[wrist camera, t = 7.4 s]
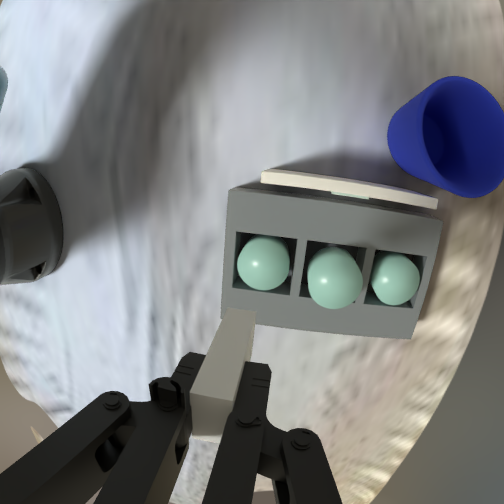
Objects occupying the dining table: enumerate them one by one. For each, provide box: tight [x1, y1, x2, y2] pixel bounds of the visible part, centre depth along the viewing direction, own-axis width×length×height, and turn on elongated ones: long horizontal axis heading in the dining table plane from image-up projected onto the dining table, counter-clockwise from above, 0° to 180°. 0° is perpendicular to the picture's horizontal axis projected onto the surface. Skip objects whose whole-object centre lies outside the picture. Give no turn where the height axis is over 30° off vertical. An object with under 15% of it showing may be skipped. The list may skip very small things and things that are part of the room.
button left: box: [237, 234, 290, 290], centre depth 27 cm, size 4×4×3 cm
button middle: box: [307, 247, 363, 309], centre depth 25 cm, size 4×4×3 cm
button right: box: [369, 250, 420, 305], centre depth 26 cm, size 4×4×3 cm
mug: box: [387, 76, 504, 198], centre depth 19 cm, size 8×12×10 cm
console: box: [221, 187, 443, 339], centre depth 27 cm, size 19×12×3 cm, turn 85°
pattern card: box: [261, 169, 438, 210], centre depth 23 cm, size 13×1×7 cm, turn 85°
